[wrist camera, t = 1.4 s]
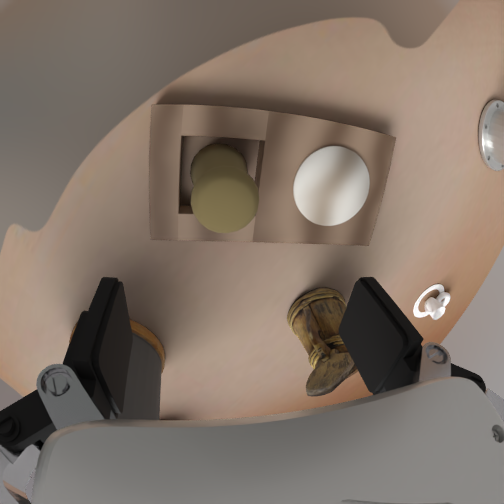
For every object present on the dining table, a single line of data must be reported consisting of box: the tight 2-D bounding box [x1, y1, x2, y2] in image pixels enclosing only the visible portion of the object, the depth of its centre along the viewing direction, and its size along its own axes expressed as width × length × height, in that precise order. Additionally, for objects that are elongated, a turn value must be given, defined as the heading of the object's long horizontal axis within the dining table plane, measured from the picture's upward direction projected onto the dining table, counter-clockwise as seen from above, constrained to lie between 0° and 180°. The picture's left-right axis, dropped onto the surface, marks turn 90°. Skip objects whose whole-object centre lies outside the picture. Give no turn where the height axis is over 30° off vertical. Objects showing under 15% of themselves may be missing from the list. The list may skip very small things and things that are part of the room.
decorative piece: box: [69, 319, 165, 420], centre depth 27 cm, size 16×16×30 cm
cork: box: [190, 144, 260, 233], centre depth 25 cm, size 6×6×11 cm
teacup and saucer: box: [413, 284, 450, 320], centre depth 45 cm, size 9×8×4 cm
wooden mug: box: [287, 288, 358, 396], centre depth 33 cm, size 9×14×18 cm, turn 39°
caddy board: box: [149, 104, 396, 246], centre depth 29 cm, size 26×14×3 cm, turn 84°
